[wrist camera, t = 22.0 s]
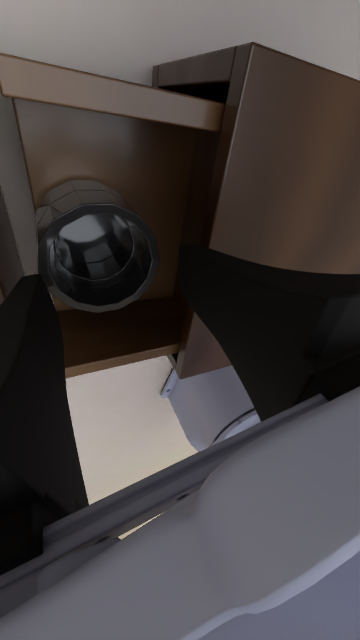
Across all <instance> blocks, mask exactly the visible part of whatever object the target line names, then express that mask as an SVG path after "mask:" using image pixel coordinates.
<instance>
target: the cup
mask: <svg viewBox="0 0 360 640" xmlns="http://www.w3.org/2000/svg"><path fill="white" fill-rule="evenodd" d="M36 243H37V263H38V272H39V273H41V275H42V278H43V280H44V282H45V285H46V286H47V288H48V290H49V291H50V293H51V294H52V295H53V296H54V297H56V298H58V299H59V300H61V301H62V302H64V303H65V304H67V305H68V306H70V307H71V308H74V309H79V310H84V311H89V312H95V313H100V312H105V311H111V310H117V309H120V308H123V307H125V306H126V305H128V304H130V303H131V302H133V301H135V300H137V299H138V298H140V297H141V296H142V295H143V293H144V292H145V291H146V290H147V288H148V287H149V286H150V285H151V283H152V282H153V281H154V278H155V275H156V271H157V267H158V264H159V260H160V257H159V252H158V246H157V241H156V237H155V235H154V233H153V232H152V231H151V229H150V228H149V227H148V225H147V224H146V223H145V222H144V220H143V219H142V218H141V216H140V215H139V214H138V213H137V212H136V211H135V210H134V209H133V208H132V207H131V206H130V205H129V203H128V202H127V201H126V200H125V199H124V198H123V197H122V196H121V195H120V194H119V193H118V192H117V191H116V190H114V189H112V188H110V187H108V186H106V185H104V184H102V183H100V182H98V181H95V180H70V181H67V182H65V183H63V184H61V185H60V186H58V187H56V188H54V189H52V190H50V191H49V192H47V194H46V196H45V197H44V199H43V201H42V203H41V204H40V206H39V208H38V209H37V211H36Z"/></svg>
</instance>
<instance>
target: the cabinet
mask: <svg viewBox="0 0 360 640" xmlns="http://www.w3.org/2000/svg"><path fill="white" fill-rule="evenodd" d="M152 87H154V88H158V89H163V90H167V91H171V92H176V93H180V94H185V95H189V96H193V97H198V98H202V99H207V100H211V101H216V102H220V103H224V104H226V107H225V112H224V117H223V122H222V128H221V133H220V138H219V143H218V149H217V154H216V159H215V164H214V170H213V175H212V180H211V185H210V191H209V196H208V201H207V206H206V212H205V217H204V222H203V227H202V233H201V238H200V243H199V245H201V246H204V247H207V248H210V249H213V250H216V251H219V252H222V253H225V254H228V255H231V256H234V257H237V258H241V259H244V260H248V261H251V262H255V263H259V264H263V265H267V266H272V267H277V268H283V269H289V270H296V271H304V272H315V273H330V274H360V81H359V80H356V79H353V78H351V77H348V76H345V75H343V74H340V73H337V72H334V71H332V70H329V69H326V68H323V67H321V66H318V65H315V64H312V63H310V62H307V61H304V60H301V59H299V58H296V57H293V56H290V55H288V54H285V53H282V52H279V51H277V50H274V49H271V48H268V47H266V46H263V45H260V44H257V43H255V42H251V43H247V44H243V45H239V46H234V47H230V48H225V49H221V50H217V51H213V52H209V53H205V54H201V55H196V56H192V57H188V58H184V59H180V60H176V61H172V62H167V63H163V64H160V65H155V66H154V67H153V83H152ZM167 357H168V359H169V361H170V362H171V364H172V366H173V368H174V370H175V372H176V374H177V375H178V377H179V379H180V380H181V379H185V378H188V377H192V376H196V375H199V374H203V373H206V372H210V371H214V370H217V369H221V368H224V367H228V366H232V364H231V363H230V361H229V359H228V358H227V356H226V354H225V353H224V351H223V349H222V348H221V346H220V344H219V343H218V341H217V340H216V339H215V337H214V336H213V335H212V333H211V332H210V331H209V329H208V328H207V327H206V326H205V324H204V323H203V322H202V321H201V319H200V318H199V317H198V315H197V314H196V313H195V311H194V310H193V309H192V308H191V306H190V305H189V303H188V306H187V311H186V317H185V322H184V327H183V332H182V338H181V343H180V348H179V352H178V353H174V354H169V355H167Z"/></svg>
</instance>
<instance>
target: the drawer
mask: <svg viewBox="0 0 360 640" xmlns="http://www.w3.org/2000/svg"><path fill="white" fill-rule="evenodd" d="M0 89H1V93H2V95H3V96H5V97H11V98H12V101H13V106H14V111H15V116H16V121H17V125H18V130H19V135H20V140H21V145H22V150H23V155H24V160H25V164H26V169H27V174H28V179H29V184H30V189H31V194H32V198H33V203H34V208H35V213H36V211H37V209H38V208H39V206H40V204H41V203H42V201H43V199H44V197H45V196H46V194H47V192H49V191H50V190H52V189H54V188H56V187H58V186H60V185H61V184H63V183H65V182H67V181H70V180H95V181H98V182H100V183H102V184H104V185H106V186H108V187H110V188H112V189H114V190H116V191H117V192H118V193H119V194H120V195H121V196H122V197H123V198H124V199H125V200H126V201H127V202H128V203H129V205H130V206H131V207H132V208H133V209H134V210H135V211H136V212H137V213H138V214H139V215H140V216H141V218H142V219H143V220H144V222H145V223H146V224H147V225H148V227H149V228H150V229H151V231H152V232H153V233H154V235H155V237H156V241H157V246H158V252H159V257H160V260H159V264H158V267H157V271H156V275H155V278H154V281H153V282H152V283H151V285H150V286H149V287H148V288H147V290H146V291H145V292H144V293H143V295H142V296H141V297H140V298H138V299H137V300H135V301H133V302H131V303H130V304H128V305H126V306H125V307H123V308H120V309H117V310H111V311H105V312H100V313H95V312H89V311H84V310H79V309H74V308H71V307H70V306H68V305H67V304H65V303H64V302H62V301H61V300H59V299H58V298H56V297H54V296H53V295H52V296H53V301H54V306H55V309H56V311H57V314H58V316H59V320H60V325H61V330H62V335H63V343H64V360H65V378H69V377H74V376H78V375H82V374H87V373H91V372H95V371H100V370H104V369H108V368H113V367H117V366H121V365H126V364H130V363H134V362H139V361H143V360H148V359H152V358H156V357H161V356H165V355H169V354H174V353H178V352H179V348H180V343H181V338H182V332H183V327H184V322H185V317H186V311H187V306H188V302H187V300H186V298H185V297H184V295H183V293H182V291H181V289H180V287H179V246H183V245H188V244H197V245H199V243H200V238H201V233H202V227H203V222H204V217H205V212H206V206H207V201H208V196H209V191H210V185H211V180H212V175H213V170H214V164H215V159H216V154H217V149H218V143H219V138H220V133H221V128H222V122H223V117H224V112H225V107H226V104H224V103H220V102H216V101H211V100H207V99H202V98H198V97H193V96H189V95H185V94H180V93H176V92H171V91H167V90H163V89H158V88H154V87H149V86H145V85H141V84H136V83H132V82H127V81H123V80H118V79H114V78H110V77H105V76H101V75H96V74H92V73H88V72H83V71H79V70H74V69H70V68H65V67H61V66H57V65H52V64H48V63H43V62H39V61H35V60H30V59H26V58H21V57H17V56H13V55H8V54H4V53H0ZM21 277H24V272H23V269H22V265H21V261H20V258H19V254H18V250H17V247H16V243H15V239H14V235H13V232H12V228H11V224H10V221H9V217H8V213H7V210H6V206H5V202H4V199H3V195H2V191H1V187H0V305H1V304H2V302H3V301H4V300H5V298H6V297H7V296H8V294H9V293H10V292H11V290H12V289H13V288H14V286H15V285H16V284H17V282H18V281H19V280H20V279H21Z"/></svg>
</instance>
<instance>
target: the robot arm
mask: <svg viewBox="0 0 360 640" xmlns="http://www.w3.org/2000/svg"><path fill="white" fill-rule="evenodd" d="M179 287H180V289H181V291H182V293H183V295H184V297H185V298H186V300H187V302H188V303H189V305H190V306H191V308H192V309H193V310H194V311H195V313H196V314H197V315H198V317H199V318H200V319H201V321H202V322H203V323H204V324H205V326H206V327H207V328H208V329H209V331H210V332H211V333H212V335H213V336H214V337H215V339H216V340H217V341H218V343H219V344H220V346H221V348H222V349H223V351H224V353H225V354H226V356H227V358H228V359H229V361H230V363H231V364H232V366H228V367H224V368H221V369H217V370H214V371H210V372H206V373H203V374H199V375H196V376H192V377H188V378H185V379H181V380H180V379H179V377H178V375H177V374H176V372H175V370H174V369H173V371H172V373H171V375H170V377H169V379H168V381H167V383H166V385H165V387H164V389H163V391H162V393H161V397H162V398H169V400H170V402H171V405H172V407H173V409H174V411H175V413H176V415H177V418H178V420H179V422H180V424H181V426H182V428H183V431H184V433H185V435H186V437H187V439H188V441H189V442H190V443H191V445H192V446H193V447H194V448H195V449H196V450H197V451H199V452H198V453H196V454H194V455H192V456H190V457H188V458H186V459H184V460H182V461H180V462H177V463H175V464H173V465H171V466H169V467H167V468H165V469H163V470H161V471H159V472H157V473H155V474H153V475H151V476H149V477H147V478H144V479H142V480H140V481H138V482H136V483H134V484H132V485H130V486H128V487H126V488H124V489H122V490H120V491H118V492H116V493H114V494H111V495H109V496H107V497H105V498H103V499H101V500H99V501H97V502H95V503H93V504H91V505H89V503H88V499H87V494H86V490H85V485H84V481H83V476H82V471H81V467H80V462H79V457H78V452H77V447H76V442H75V437H74V432H73V427H72V421H71V416H70V410H69V405H68V399H67V391H66V379H65V360H64V343H63V335H62V330H61V325H60V320H59V316H58V314H57V311H56V309H55V307H54V304H53V302H52V299H51V297H50V294H49V292H48V290H47V287H46V285H45V282H44V280H43V278H42V275H41V273H39V274H34V275H29V276H24V277H21V279H20V280H19V281H18V282H17V284H16V285H15V286H14V288H13V289H12V290H11V292H10V293H9V294H8V296H7V297H6V298H5V300H4V301H3V302H2V304H1V305H0V640H360V274H330V273H315V272H304V271H296V270H289V269H283V268H277V267H272V266H267V265H263V264H259V263H255V262H251V261H248V260H244V259H241V258H237V257H234V256H231V255H228V254H225V253H222V252H219V251H216V250H213V249H210V248H207V247H204V246H201V245H197V244H188V245H183V246H179ZM166 510H167V511H166ZM163 512H164V513H163ZM161 513H162V514H161ZM159 514H160V515H159ZM157 515H159V516H157ZM155 516H157V517H156V518H154V519H153V520H151V521H150V522H148V523H147V524H145V525H143V526H142V527H140V528H139V529H137V530H136V531H134V532H133V533H131V534H130V535H128V536H126V537H125V538H123V539H122V540H121V539H119V538H118V536H120V535H122V534H124V533H126V532H128V531H129V530H131V529H133V528H135V527H137V526H139V525H141V524H142V523H144V522H146V521H148V520H150V519H152V518H153V517H155Z"/></svg>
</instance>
